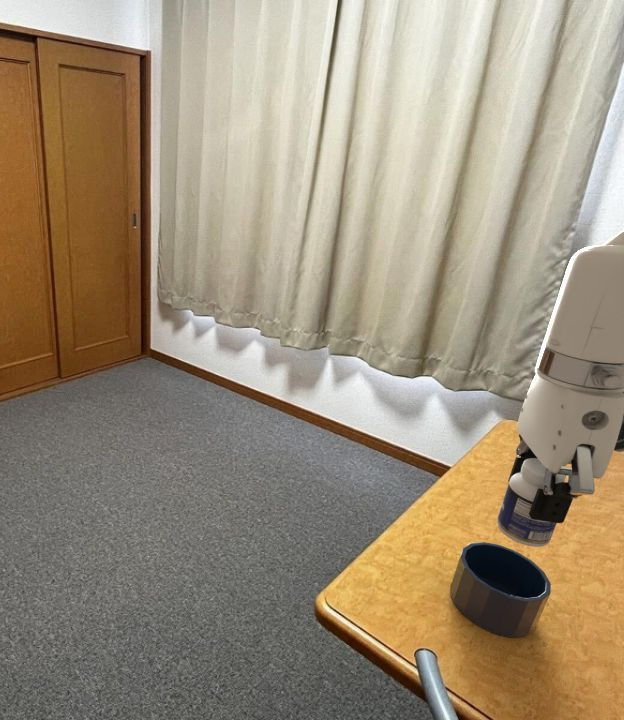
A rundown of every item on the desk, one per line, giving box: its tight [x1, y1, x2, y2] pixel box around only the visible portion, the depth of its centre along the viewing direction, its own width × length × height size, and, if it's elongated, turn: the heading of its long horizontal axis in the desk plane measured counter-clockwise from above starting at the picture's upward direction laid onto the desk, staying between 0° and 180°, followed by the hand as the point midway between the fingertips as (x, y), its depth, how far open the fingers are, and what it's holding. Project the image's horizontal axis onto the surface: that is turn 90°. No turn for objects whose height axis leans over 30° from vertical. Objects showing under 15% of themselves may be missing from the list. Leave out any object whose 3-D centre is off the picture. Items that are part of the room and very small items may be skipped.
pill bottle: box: [496, 458, 567, 548], centre depth 57 cm, size 5×5×10 cm
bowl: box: [449, 541, 552, 639], centre depth 62 cm, size 9×9×6 cm
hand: (533, 500), depth 57 cm, fingers closed on pill bottle, 5 cm apart
